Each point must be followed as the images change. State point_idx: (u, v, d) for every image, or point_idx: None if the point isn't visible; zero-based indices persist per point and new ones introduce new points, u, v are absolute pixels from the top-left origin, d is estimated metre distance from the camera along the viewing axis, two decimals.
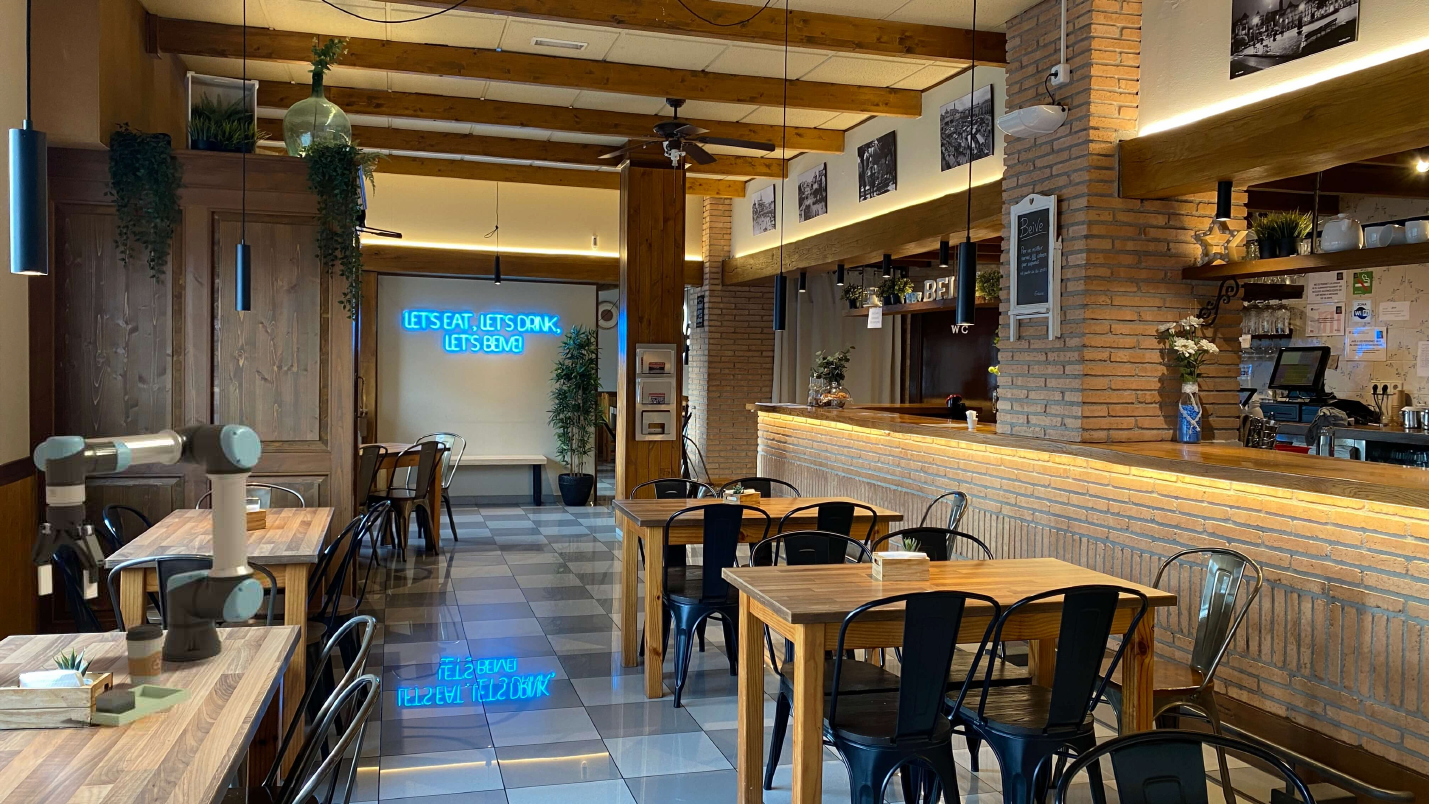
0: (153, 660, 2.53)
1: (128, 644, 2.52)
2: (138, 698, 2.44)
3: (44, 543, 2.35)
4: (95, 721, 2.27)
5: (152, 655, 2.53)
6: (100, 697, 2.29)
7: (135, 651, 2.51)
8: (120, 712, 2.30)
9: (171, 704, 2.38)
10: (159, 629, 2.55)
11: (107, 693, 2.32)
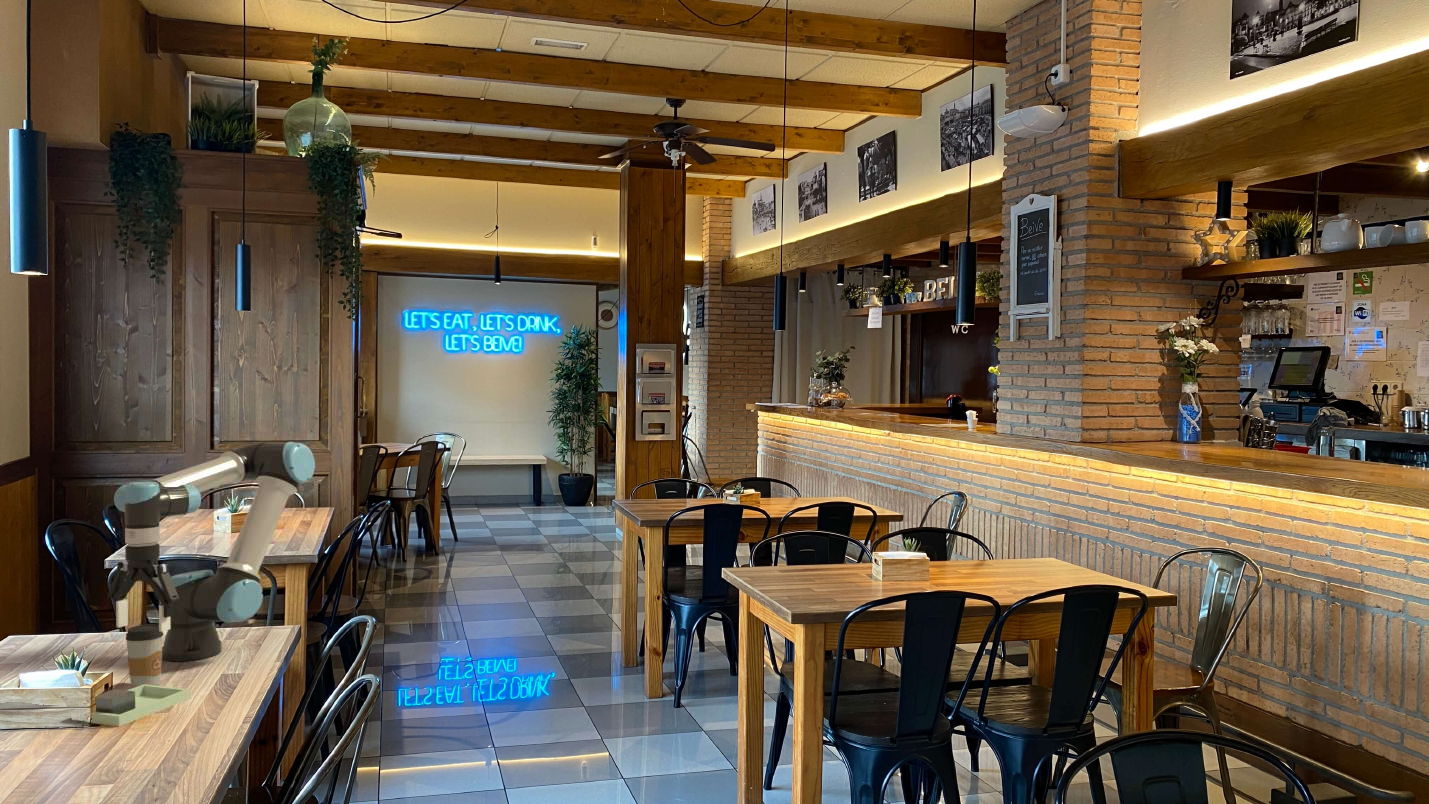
0: (153, 660, 2.53)
1: (128, 644, 2.52)
2: (138, 698, 2.44)
3: (122, 579, 2.57)
4: (95, 721, 2.27)
5: (152, 655, 2.53)
6: (100, 697, 2.29)
7: (135, 651, 2.51)
8: (120, 712, 2.30)
9: (171, 704, 2.38)
10: None
11: (107, 693, 2.32)
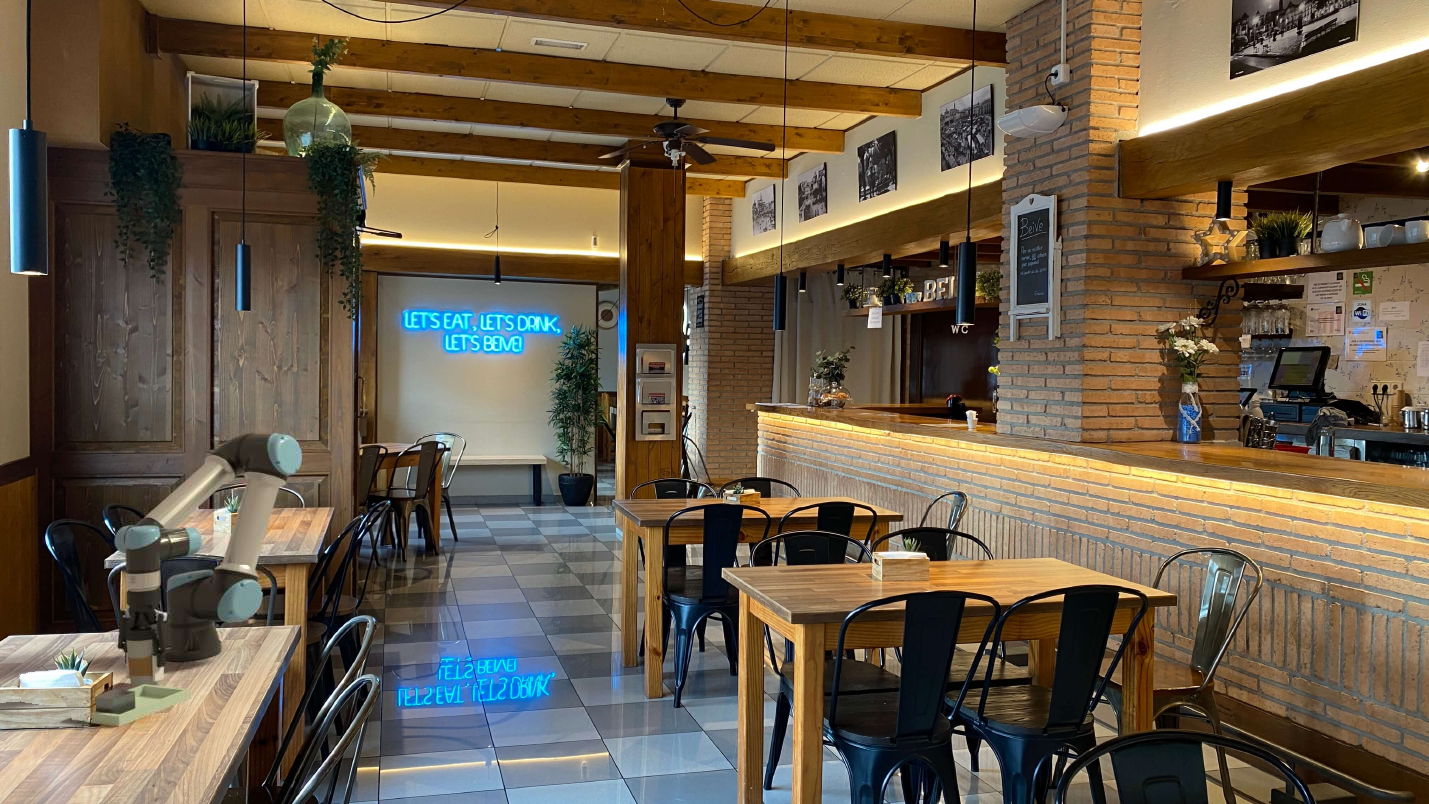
0: None
1: (128, 644, 2.52)
2: (138, 698, 2.44)
3: (127, 627, 2.57)
4: (95, 721, 2.27)
5: None
6: (100, 697, 2.29)
7: (135, 651, 2.51)
8: (120, 712, 2.30)
9: (171, 704, 2.38)
10: None
11: (107, 693, 2.32)
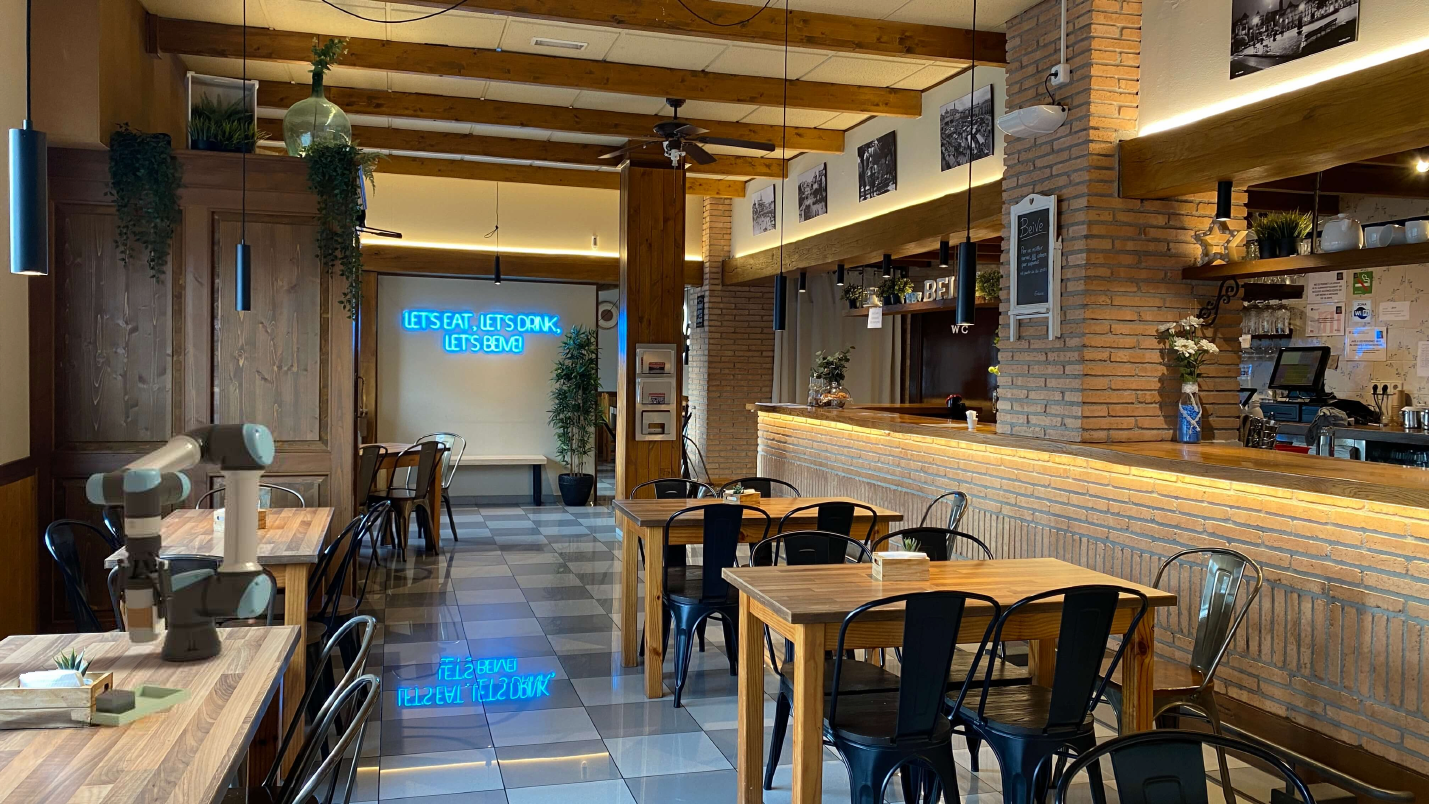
0: None
1: (126, 593, 2.36)
2: (138, 698, 2.44)
3: (126, 577, 2.41)
4: (95, 721, 2.27)
5: (152, 605, 2.37)
6: (100, 697, 2.29)
7: (134, 601, 2.35)
8: (120, 712, 2.30)
9: (171, 704, 2.38)
10: None
11: (107, 693, 2.32)
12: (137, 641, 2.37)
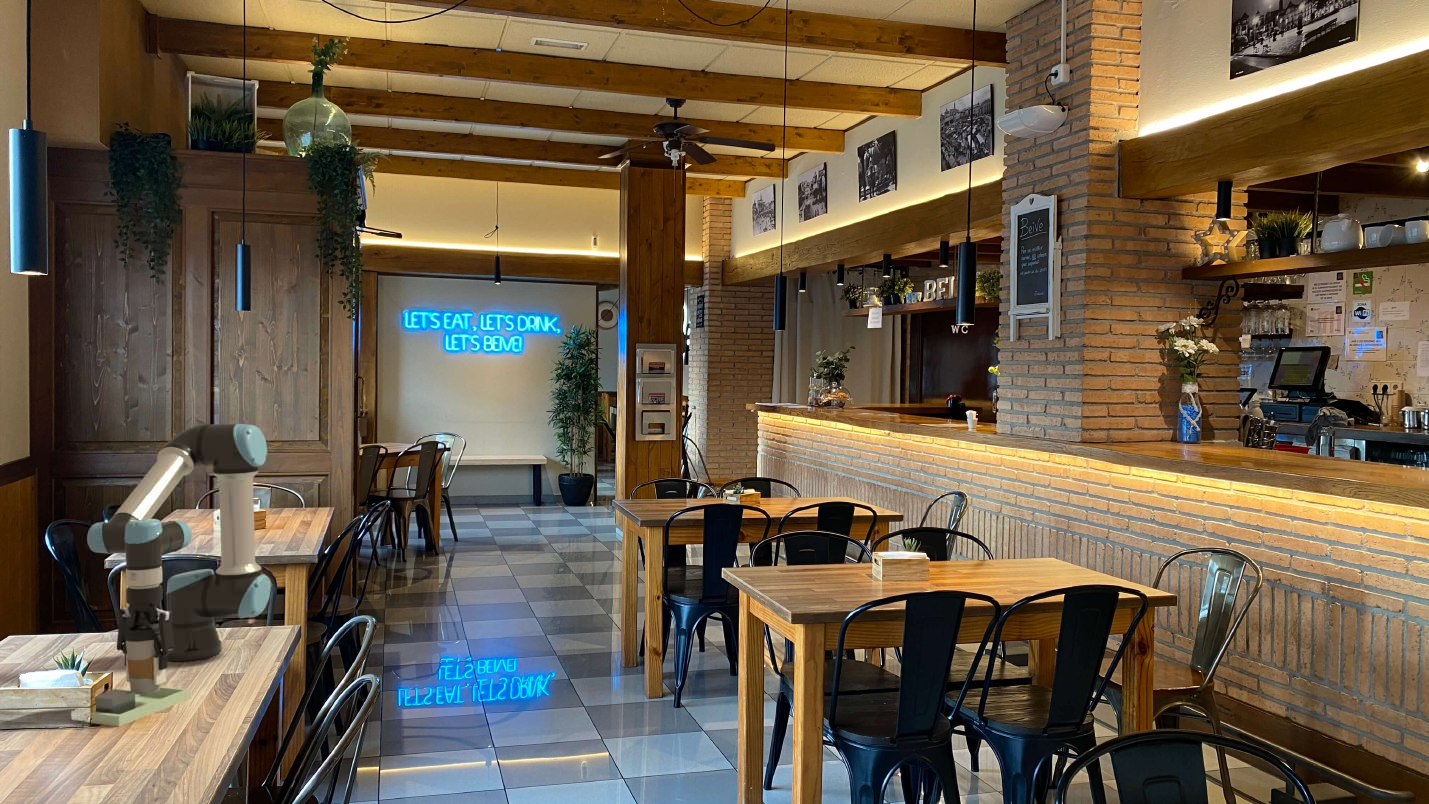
0: None
1: (127, 645, 2.37)
2: (138, 698, 2.44)
3: (127, 627, 2.41)
4: (95, 721, 2.27)
5: (153, 656, 2.38)
6: (100, 697, 2.29)
7: (135, 652, 2.36)
8: (120, 712, 2.30)
9: (171, 704, 2.38)
10: None
11: (107, 693, 2.32)
12: (138, 692, 2.37)
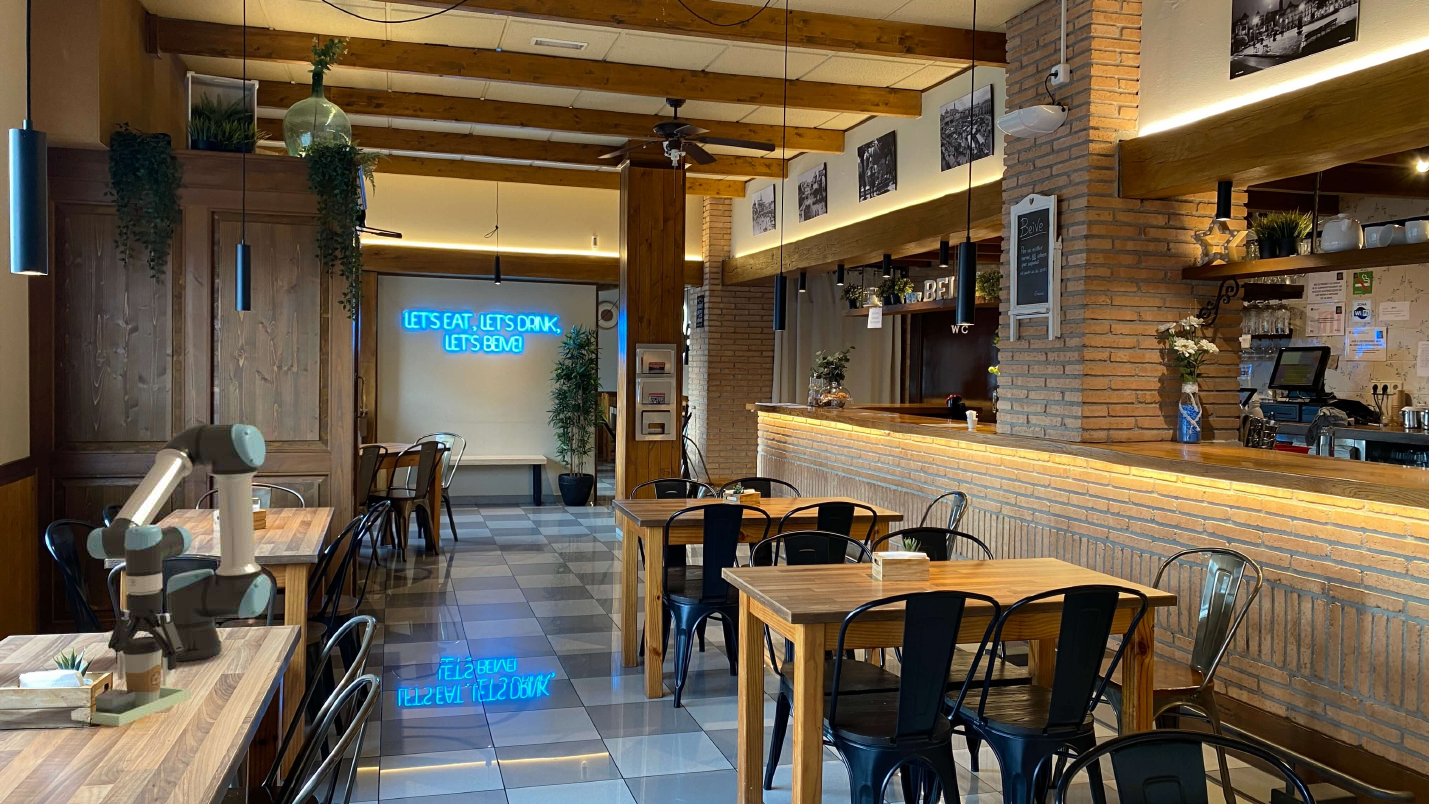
0: (152, 675, 2.38)
1: (125, 658, 2.37)
2: None
3: (123, 628, 2.42)
4: (95, 721, 2.27)
5: (151, 669, 2.38)
6: (100, 697, 2.29)
7: (133, 666, 2.36)
8: (120, 712, 2.30)
9: (171, 704, 2.38)
10: None
11: (107, 693, 2.32)
12: (136, 705, 2.37)
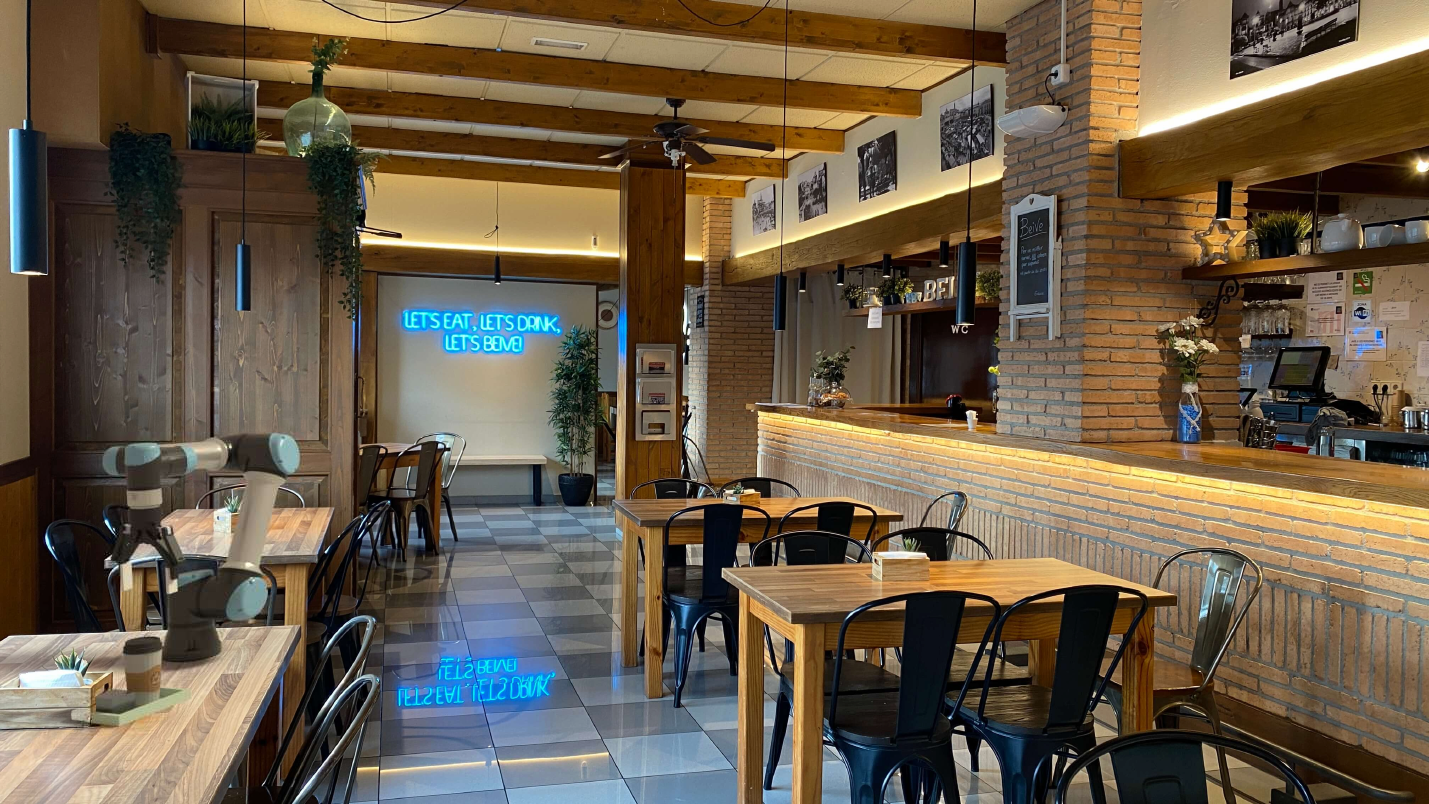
0: (152, 675, 2.38)
1: (125, 658, 2.37)
2: None
3: (124, 542, 2.52)
4: (95, 721, 2.27)
5: (151, 669, 2.38)
6: (100, 697, 2.29)
7: (133, 666, 2.36)
8: (120, 712, 2.30)
9: (171, 704, 2.38)
10: (159, 642, 2.40)
11: (107, 693, 2.32)
12: (136, 705, 2.37)
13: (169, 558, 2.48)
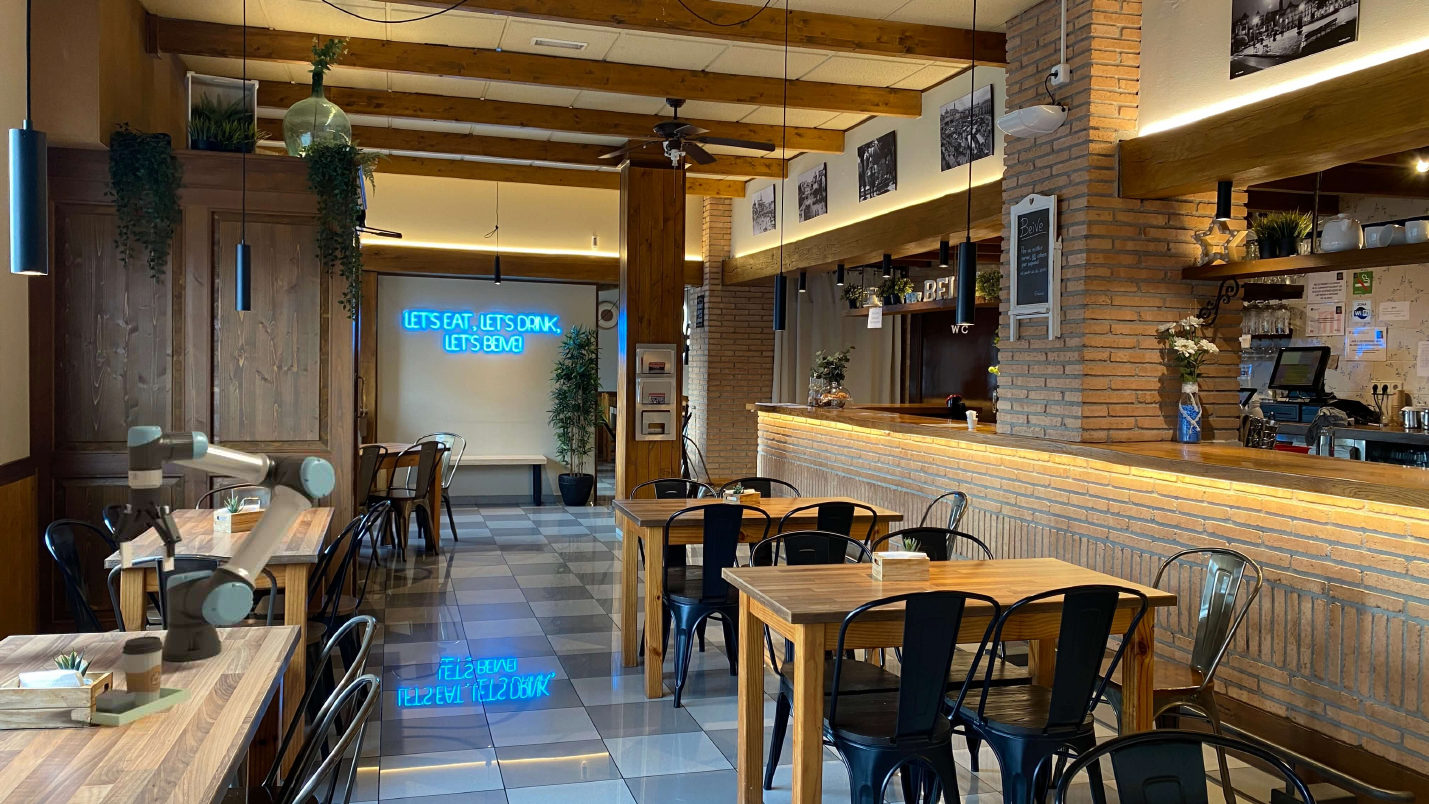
0: (152, 675, 2.38)
1: (125, 658, 2.37)
2: None
3: (125, 521, 2.62)
4: (95, 721, 2.27)
5: (151, 669, 2.38)
6: (100, 697, 2.29)
7: (133, 666, 2.36)
8: (120, 712, 2.30)
9: (171, 704, 2.38)
10: (159, 642, 2.40)
11: (107, 693, 2.32)
12: (136, 705, 2.37)
13: (166, 536, 2.57)
